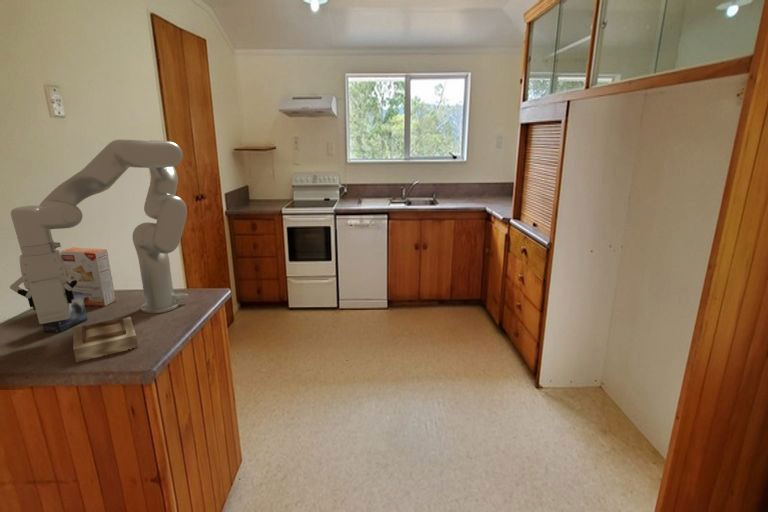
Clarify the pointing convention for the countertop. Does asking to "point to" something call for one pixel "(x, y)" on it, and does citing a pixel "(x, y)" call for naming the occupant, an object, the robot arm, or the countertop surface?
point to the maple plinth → (104, 338)
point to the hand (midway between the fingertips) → (53, 305)
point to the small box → (75, 318)
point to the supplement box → (50, 300)
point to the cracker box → (91, 274)
